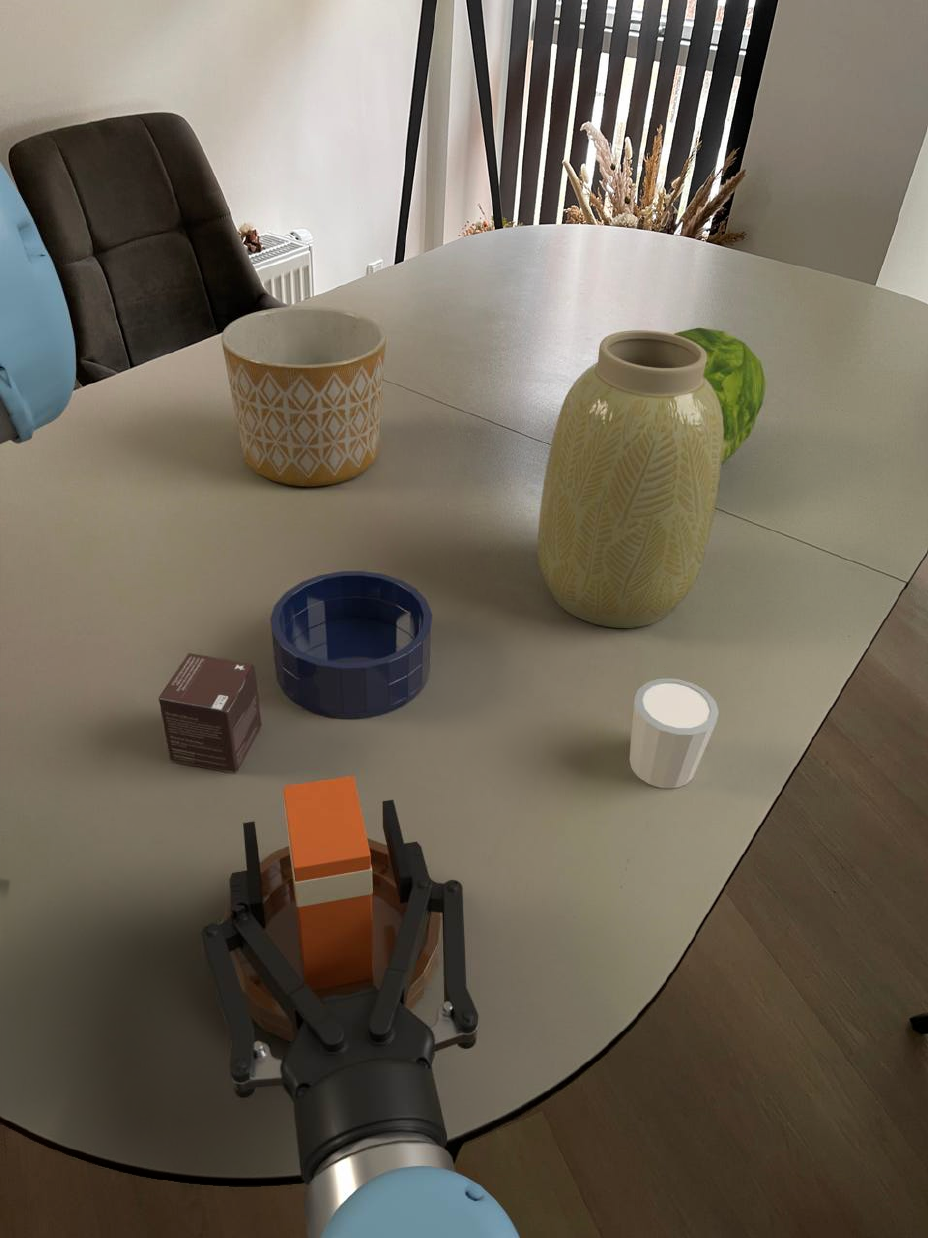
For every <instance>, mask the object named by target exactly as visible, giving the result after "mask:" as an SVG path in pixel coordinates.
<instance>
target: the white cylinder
mask: <svg viewBox="0 0 928 1238" xmlns="http://www.w3.org/2000/svg"><path fill="white" fill-rule="evenodd" d="M719 713H720V711H719V707H718V704H717V702H716V700H715V699H714V698H713V697H712V696H711V694H710V693H709V692H708V691H707V690H705V689H704V688H702V687H700V686H698V685H697V684H695V683H693V682H690V681H687V680H682V679H679V678H663V677H662V678H658V679H654V680H649V681H647V682H645V683H644V684H642V685H641V686H640V688H638V689H637V691H636V695H635V697H634V701H633V712H632V725H631V736H630V747H629V750H630V751H629V764H630V768H631V770H632V771H633V772H634V774H635V775H636V776H637V778H638V779H640V780H642V781H643V782H645V783H646V784H647V785H650V786H654V787H657V788H660V789H678V788H681V787H684V786H686V785H687V784H688V783H689V782H691V780H692V779H694V777H695V774H696V772H697V769H698V767H699V765H700V763H701V760H702V757H703V755H704V752H705V751H706V748H707V745H708V744H709V741H710V738H711V736H712V734H713V732H714V729H715V726H716V724H717V721H718V719H719Z"/></svg>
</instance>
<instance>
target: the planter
mask: <svg viewBox="0 0 928 1238" xmlns="http://www.w3.org/2000/svg"><path fill="white" fill-rule="evenodd" d="M220 340H221V345H222V351H223V355H224V356H223V357H224V360H225V365H226V366H225V368H226V372H227V376H228V382H229V387H230V393H231V398H232V403H233V409H234V415H235V419H236V424H237V425H236V426H237V429H238V436H239V440H240V441H239V442H240V445H241V452H242V455H243V457H244V460H245V461H246V464H248V466H249V467H250V468H251V469H252V470H253V471H254V472H256V474H258V475H260V476H262V477H264V478H265V479H267V480H270V481H272V482H275V483H280V484H283V485H288V486H293V487H294V486H295V487H321V486H323V487H324V486H330V485H334V484H335V485H336V484H339V483H343V482H346V481H349V480H351V479H353V478H356V477H357V476H359V475H361V474H362V473H364V472H366V470H368V469H369V468H370V467H371V466H372V464H373V463H374V462H375V460H376V458H377V456H378V452H379V446H380V445H379V444H380V433H381V432H380V431H381V417H382V404H383V402H382V401H383V389H384V374H385V358H386V343H387V334H386V331H385V330H384V328H383V327H382V326H381V324H379V323H378V322H377V321H375V320H373V319H371V318H370V317H368V316H365V315H363V314H360V313H357V312H354V311H350V310H346V309H342V308H341V309H340V308H335V307H328V306H327V307H326V306H314V305H308V306H307V305H299V306H298V305H297V306H282V307H273V308H269V309H263V310H260V311H255V312H252V313H249V314H246V315H243V316H241V317H239V318H237V319H235V320H234V321H232V322H230V323H229V324H228V325H227V326H226V327H225V328H224V330H223V331H222V333H221V337H220Z"/></svg>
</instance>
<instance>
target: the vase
mask: <svg viewBox="0 0 928 1238" xmlns="http://www.w3.org/2000/svg"><path fill="white" fill-rule="evenodd" d="M674 334H675V333H669V332H663V331H656V330H647V329H643V330H642V329H639V330H638V329H634V330H624V331H618V332H614V333H611V334H609V335H607V336H605V337H604V338H603V339H601V341H600V344H599V347H598V359H597V362H595V363H594V364H592V365H591V366H589V367H588V368H587V369H586V370H585V371H583V372H582V373H581V374H580V375H579V376H578V378H577V379H576V380H575V382H574V383H573V385H572V386H571V387H570V388H569V390H568V392H567V393H566V395H565V397H564V400H563V402H562V405H561V407H560V411H559V414H558V417H557V421H556V424H555V427H554V430H553V434H552V435H553V436H552V439H551V443H550V447H549V450H548V451H549V452H548V456H547V462H546V465H545V466H546V467H545V472H544V478H543V485H542V490H541V491H542V492H541V499H540V506H539V516H538V528H537V560H538V565H539V568H540V571H541V574H542V575H541V576H542V577H543V580H544V582H545V584H546V586H547V588H548V590H549V592H550V594H551V596H552V598H553V599H554V601H555V602H556V603H557V604H558V606H560V607H561V608H562V609H563V610H565V611H566V612H567V613H569V614H571V615H572V616H573V617H576V618H578V619H580V620H583V621H585V622H587V623H591V624H592V625H593V624H594V625H598V626H602V627H607V628H616V629H629V628H630V629H631V628H632V629H633V628H639V627H644V626H649V625H652V624H654V623H656V622H659V621H661V620H662V619H664V618H665V617H667V616H668V615H669V614H670V613H672V612H673V610H674V609H675V608H676V607H677V606H678V605H680V603H682V601H684V600H685V598H686V597H687V596H688V594H689V593H690V592H691V590H692V588H693V587H694V585H695V584H696V582H697V579H698V577H699V574H700V570H701V567H702V565H703V561H704V557H705V555H706V554H705V553H706V550H707V547H708V543H709V539H710V535H711V532H712V531H711V530H712V526H713V522H714V517H715V512H716V511H715V510H716V507H717V506H716V505H717V500H718V495H719V488H720V481H721V474H722V466H723V465H722V457H723V437H724V430H723V415H722V409H721V406H720V402H719V400H718V397H717V395H716V393H715V390H714V389H713V387H712V386H711V384H710V383H709V381H708V380H707V379H706V378H705V377H704V376H703V374H704V370H705V366H706V362H707V354H706V352H705V350H704V349H703V348H702V347H701V346H700V345H698V344H696V343H695V342H693V341H691V340H689V339H686V338H683V337H681V336H677V335H674Z"/></svg>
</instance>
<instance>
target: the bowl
mask: <svg viewBox="0 0 928 1238" xmlns="http://www.w3.org/2000/svg"><path fill="white" fill-rule="evenodd" d="M367 840H368V845H369V850H370V854H371V867H372V890H373V893H372V932H373V974H374V978H373V979H370V980H365V981H359V982H354V983H349V984H344V985H339V986H334V987H329V988H324V989H319V990H314V991H313V992H314V993H315V994H316V996H317V997H318V998H319V1000H320V1001H322V997H324V996H329V995H334V994H342V995H350V994H352V993H355V992H357V991H359V990H361V989H364V988H369V987H374V986H376V989H377V990H380V987H381V984H382V980H383V977H384V974H385V971H386V968H388V966H389V962H390V959H391V956H392V953H393V949H394V946H395V943H396V939H397V936H398V933H399V929H400V926H401V923H402V920H403V916H404V913H405V910H406V906H407V903H403V904H400V900H399V896H398V891H397V887H396V883H395V878H394V874H393V869H392V865H391V861H390V856H389V852H388V848H387V844H385V843H382V842H379V841H376V840H374V839H372V838H369V837H367ZM259 862H260V873H261V883H262V893H263V904H264V914H265V924H266V928H265V929H264V931H265V932H266V933H267V935H268V936H269V937H270V939H271V940H272V941H273V943H274V944H275V945H276V947H277V948H278V949H279V951H280V952H281V953H282V955H283V956H284V957H285V959H286V960H287V961H288V963H289V964H290V965H291V967H292V968H293V969H294V971H295V972H296V973H297V975H298V976H299V977H300V979H301V980H302V981H303V983H304V984H305V977H304V969H303V961H302V954H301V946H300V938H299V930H298V922H297V915H296V906H295V896H294V887H293V877H292V867H291V858H290V850H289V845H287V846H285V847H283V848H280V849H278V850H276V851H274V852H272V853H270V854H269V855H267V857H265V858H264V859H263V860H261V861H259ZM230 908H231V898H230V897H229V899H228V902H227V905H226V908H225V912H224V915H223V919H222V921H221V923H222V922H224V921H226V920H227V919H228V918H229V916H230ZM441 928H442V913H438V912H431V916H429V920H428V923H427V927H426V930H425V934H424V938H423V941H422V945H421V948H420V952H419V956H418V959H417V963H416V966H415V970H414V974H413V977H412V981H411V984H410V988H409V992H408V996H407V1002H406V1008H408V1009H409V1010H410V1011H412V1009H413V1008H414V1007H415V1006H416V1005H417V1004H418V1003H419V1002H420V1001H421V1000H422V999H423V998H424V996H425V994H426V992H427V990H428V987H429V986H430V983H431V981H432V979H433V978H434V975H435V973H436V971H437V968H438V963H439V956H440V955H439V952H440V944H441V932H442V931H441ZM229 953H230V956H231V959H232V962H233V965H234V968H235V971H236V974H237V977H238V980H239V983H240V986H241V989H242V992H243V995H244V998H245V1001H246V1005H247V1008H248V1011H249V1014H250V1017H251V1020H252V1021H254V1022H255V1023H256V1025H258V1027H260V1028H261V1029H262V1030H263V1031H266V1032H268V1033H270V1034H272V1035H275V1036H277V1037H280V1038H282V1039H284V1040H287V1041H289V1042H290V1043H291V1042H292V1041H293V1039H294V1037H295V1035H296V1034H297V1033H296V1032H295V1030H294V1028H293V1027H292V1024H291V1022H290V1020H289V1018H288V1017H287V1015H286V1014H285V1012H284V1011H283V1010H282V1008H281V1007H280V1005H279V1004H278V1003H277V1001H276V1000H275V998H274V997H273V996H272V994H271V993H270V991H269V990H268V989H267V987H266V986H265V984H264V983H263V982H262V980H261V979H260V977H259V976H258V975H257V973H256V972H255V970H254V969H253V968H252V966H251V965H250V963H249V962H248V961H247V959H246V958H245V956H244V955H243V954H242V952H241V951H240V949H239V948H237V949H235V950H233V951H231V952H229Z"/></svg>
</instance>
